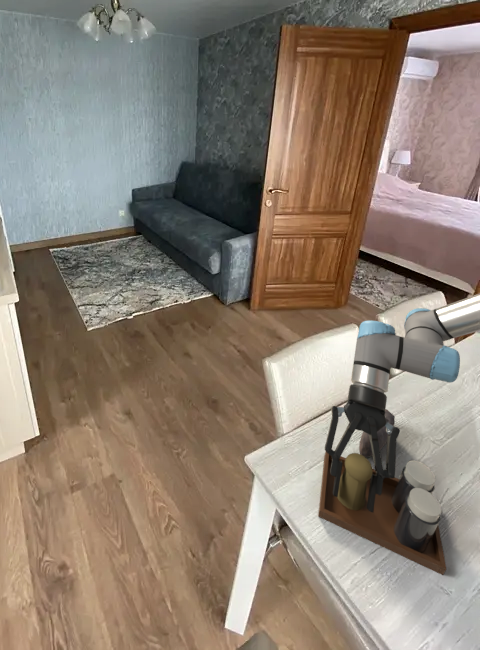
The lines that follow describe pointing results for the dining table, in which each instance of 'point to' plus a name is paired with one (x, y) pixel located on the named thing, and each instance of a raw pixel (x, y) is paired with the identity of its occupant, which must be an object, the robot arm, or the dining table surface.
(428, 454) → the dining table surface
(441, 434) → the dining table surface
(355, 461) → the cork
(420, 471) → the shaker
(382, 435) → the perforated stone tool
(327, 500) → the spice tray
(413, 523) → the shaker
